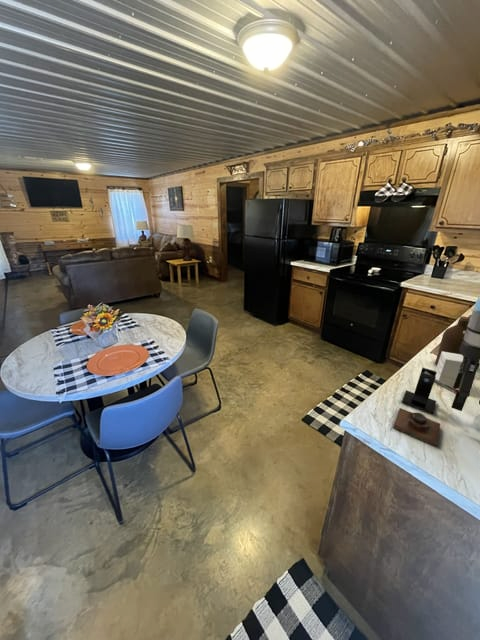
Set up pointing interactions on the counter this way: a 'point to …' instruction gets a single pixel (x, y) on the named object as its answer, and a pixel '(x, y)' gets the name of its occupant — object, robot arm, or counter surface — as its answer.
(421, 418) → the button
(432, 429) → the button block
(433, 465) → the counter surface
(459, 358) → the white packaging box
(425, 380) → the switch bracket
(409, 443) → the counter surface
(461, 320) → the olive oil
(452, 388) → the switch
